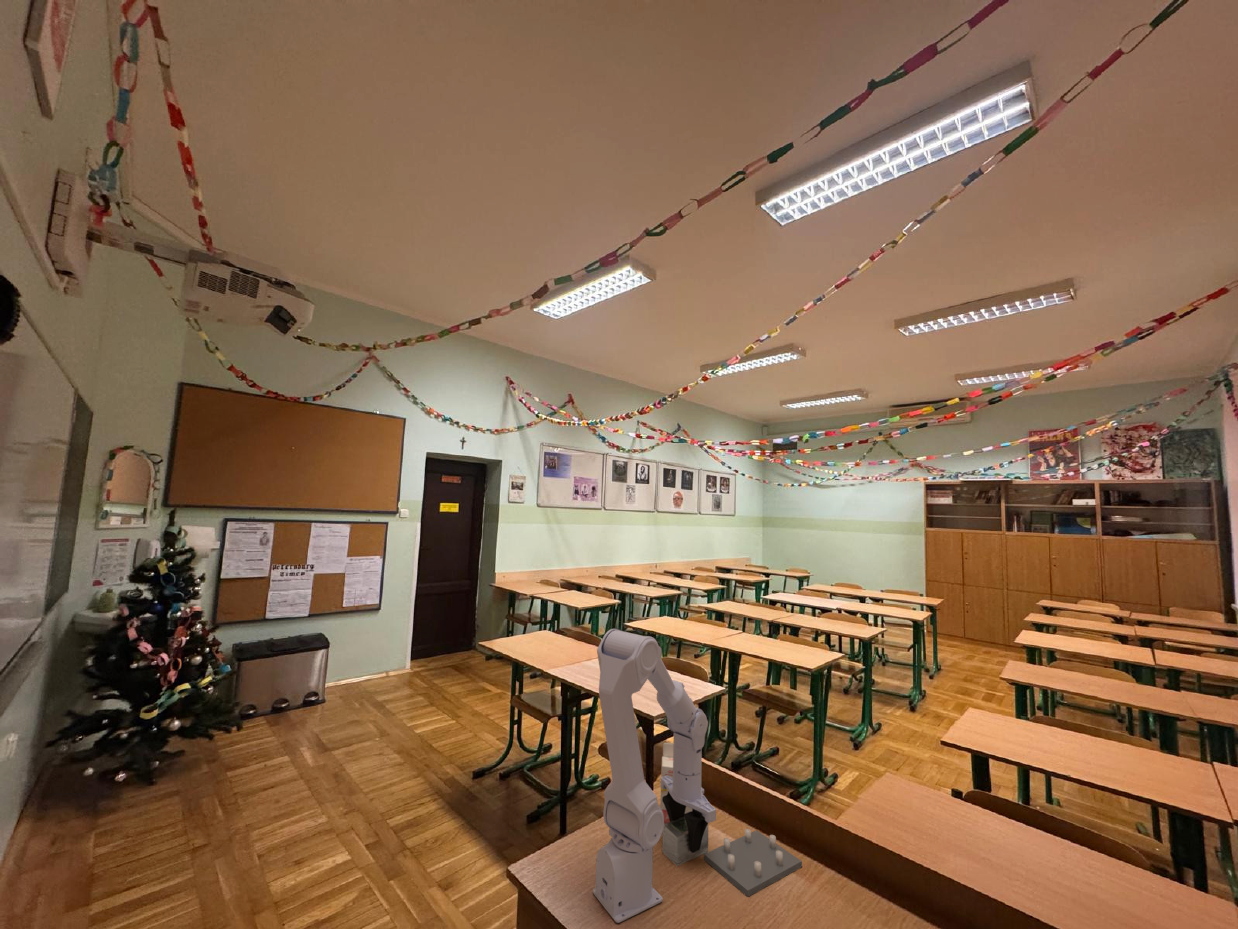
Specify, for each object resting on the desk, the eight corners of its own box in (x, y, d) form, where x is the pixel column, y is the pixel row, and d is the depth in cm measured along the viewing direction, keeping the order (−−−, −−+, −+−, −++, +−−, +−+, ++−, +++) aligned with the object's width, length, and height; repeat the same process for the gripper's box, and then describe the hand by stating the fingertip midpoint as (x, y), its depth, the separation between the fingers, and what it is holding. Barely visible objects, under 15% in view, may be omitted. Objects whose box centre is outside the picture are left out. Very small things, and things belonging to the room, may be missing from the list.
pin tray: (747, 897, 83) (747, 878, 83) (703, 859, 92) (704, 842, 93) (802, 867, 91) (801, 849, 91) (756, 835, 100) (756, 819, 101)
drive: (677, 866, 90) (677, 836, 91) (662, 852, 94) (662, 824, 95) (709, 851, 95) (709, 823, 95) (694, 839, 98) (694, 812, 99)
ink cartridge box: (659, 824, 103) (661, 751, 105) (660, 811, 108) (661, 741, 110) (699, 828, 102) (700, 754, 104) (698, 815, 107) (699, 744, 109)
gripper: (727, 780, 92) (727, 857, 91) (678, 750, 105) (677, 818, 103) (700, 789, 89) (699, 870, 87) (653, 757, 101) (651, 828, 99)
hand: (686, 843), depth 94 cm, fingers closed on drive, 4 cm apart
